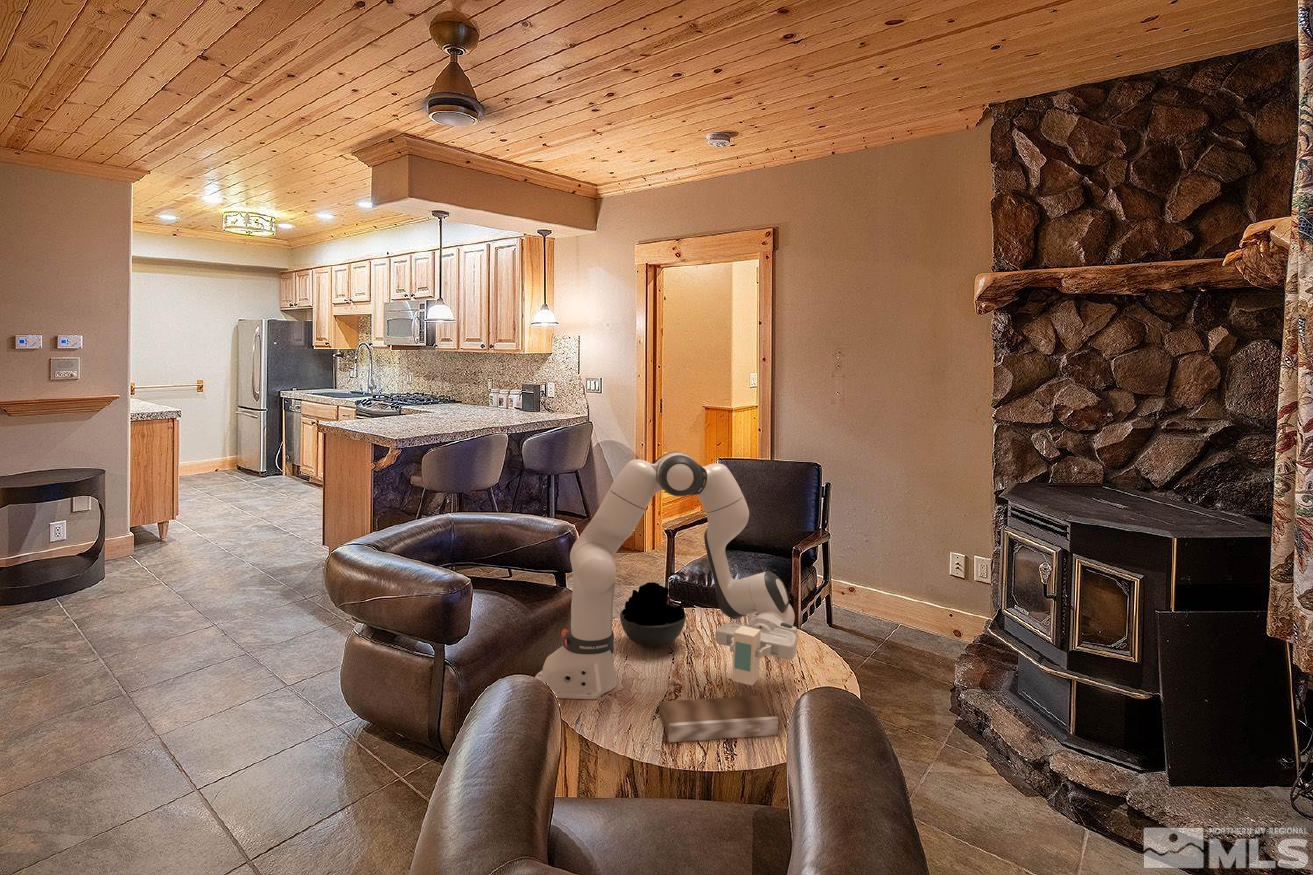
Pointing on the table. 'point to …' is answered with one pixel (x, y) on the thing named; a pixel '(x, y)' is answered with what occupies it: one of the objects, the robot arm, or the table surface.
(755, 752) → the table surface
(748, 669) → the carton
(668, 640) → the coal bowl
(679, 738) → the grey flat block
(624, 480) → the robot arm
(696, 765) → the table surface
